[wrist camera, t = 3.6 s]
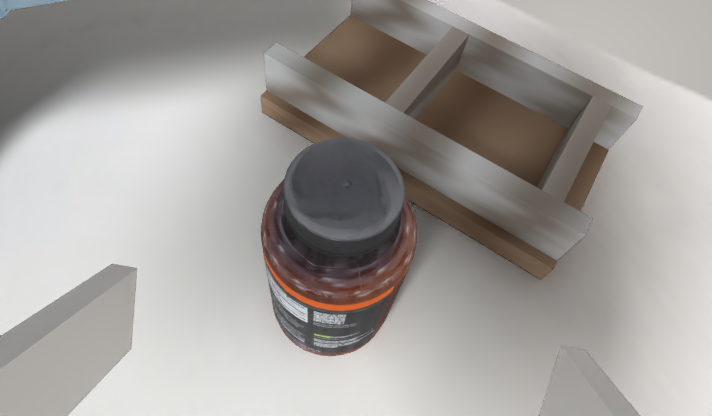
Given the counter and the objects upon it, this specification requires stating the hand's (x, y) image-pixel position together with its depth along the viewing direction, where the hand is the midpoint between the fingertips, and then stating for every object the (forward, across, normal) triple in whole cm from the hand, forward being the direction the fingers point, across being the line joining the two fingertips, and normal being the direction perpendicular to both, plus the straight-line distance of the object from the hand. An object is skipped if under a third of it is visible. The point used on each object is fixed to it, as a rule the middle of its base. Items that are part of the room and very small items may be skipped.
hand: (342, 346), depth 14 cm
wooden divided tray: (+19, +4, +6) cm, 21 cm away
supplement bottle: (+10, -1, -4) cm, 11 cm away
